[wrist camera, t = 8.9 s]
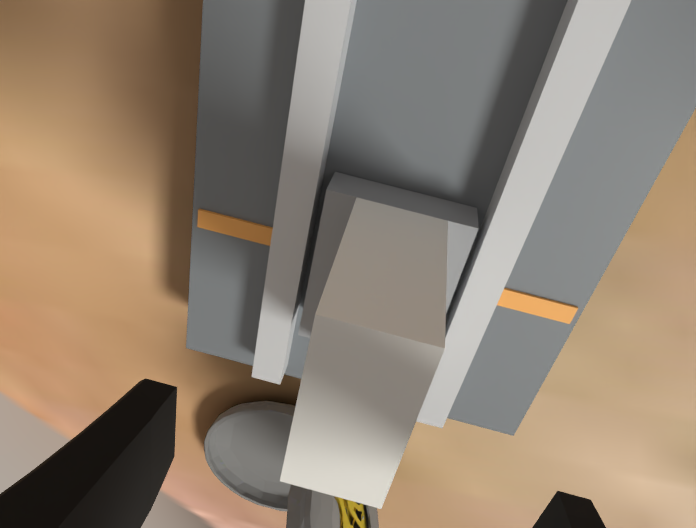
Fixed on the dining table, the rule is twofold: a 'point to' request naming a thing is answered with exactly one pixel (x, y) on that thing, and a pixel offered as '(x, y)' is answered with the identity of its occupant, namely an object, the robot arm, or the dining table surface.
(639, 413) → the dining table surface
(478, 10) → the fader console
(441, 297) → the fader tab
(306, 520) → the pocket watch
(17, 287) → the dining table surface
